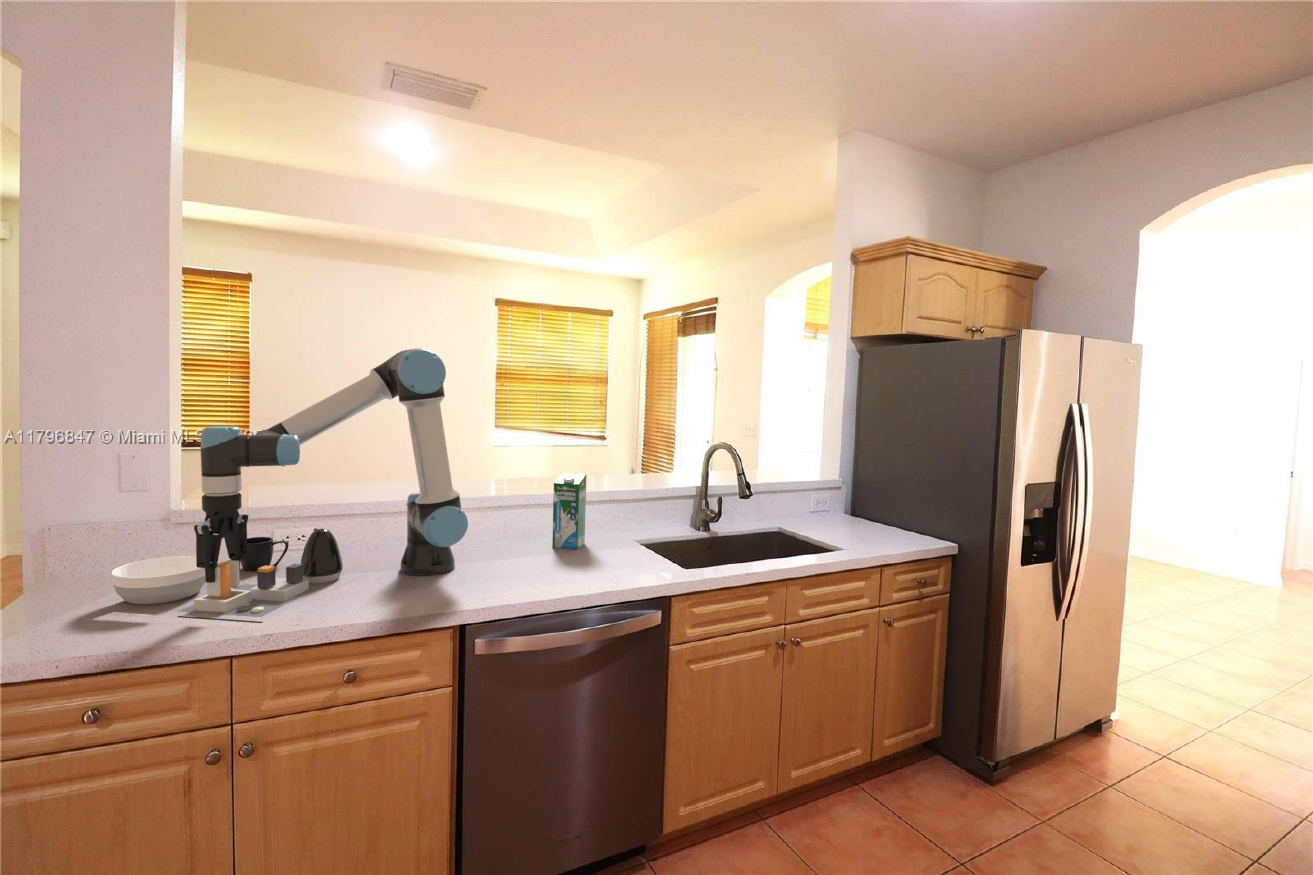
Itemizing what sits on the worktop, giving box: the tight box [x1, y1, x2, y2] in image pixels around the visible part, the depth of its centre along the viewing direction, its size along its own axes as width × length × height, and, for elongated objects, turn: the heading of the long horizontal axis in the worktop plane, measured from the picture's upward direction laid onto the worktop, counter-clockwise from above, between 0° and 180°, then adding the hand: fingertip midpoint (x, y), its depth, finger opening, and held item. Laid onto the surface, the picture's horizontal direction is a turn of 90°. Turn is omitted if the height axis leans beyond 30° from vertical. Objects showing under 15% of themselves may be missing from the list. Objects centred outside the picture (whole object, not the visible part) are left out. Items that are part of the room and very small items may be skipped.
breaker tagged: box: [256, 565, 277, 589], centre depth 150 cm, size 2×3×5 cm
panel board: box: [177, 577, 316, 624], centre depth 150 cm, size 20×20×4 cm
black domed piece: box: [300, 528, 344, 584], centre depth 166 cm, size 10×10×15 cm
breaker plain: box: [285, 563, 303, 583], centre depth 155 cm, size 2×3×4 cm
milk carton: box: [552, 472, 587, 550], centre depth 216 cm, size 9×9×25 cm
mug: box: [240, 536, 290, 572], centre depth 174 cm, size 8×12×10 cm
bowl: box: [110, 555, 207, 606], centre depth 150 cm, size 19×19×9 cm
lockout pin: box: [215, 561, 232, 600], centre depth 144 cm, size 3×3×10 cm
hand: (223, 591), depth 145 cm, fingers open, 5 cm apart
